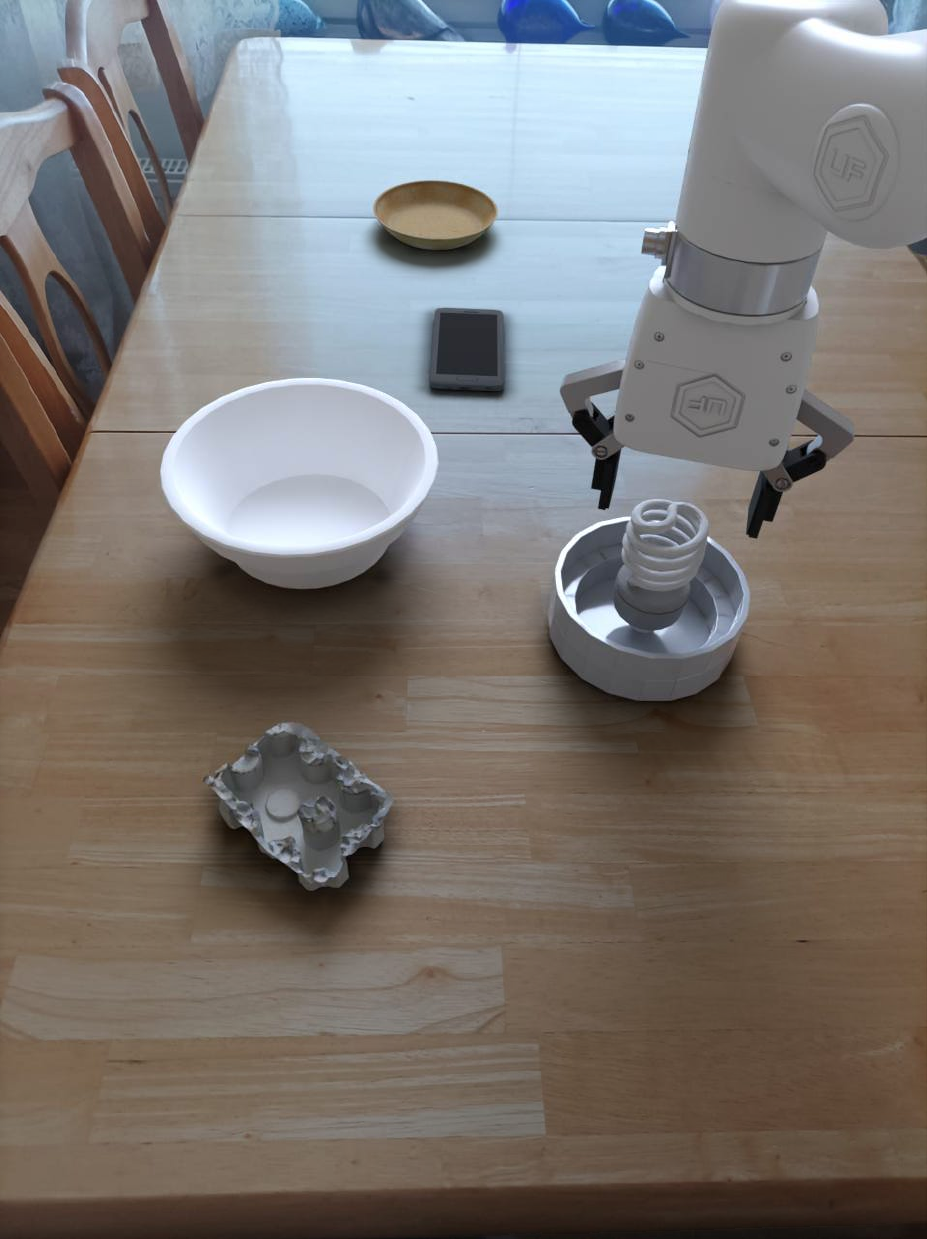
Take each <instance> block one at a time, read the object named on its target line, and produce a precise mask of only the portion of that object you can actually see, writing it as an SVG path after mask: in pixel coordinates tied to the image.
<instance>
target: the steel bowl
mask: <svg viewBox="0 0 927 1239" xmlns="http://www.w3.org/2000/svg"><path fill="white" fill-rule="evenodd" d="M630 519H631V516H621V517H617V518H612V519H608V520H602V521H598V522H596V523H594V524H592V525H590V526H589V527H587V528H585V529H583V530H581V531H579V532H577V533H576V534H575V535H574V536H573V537H572V538H571V539H570V540H569V542H567V543H566V544H565V546H564V547H563V548H562V549H561V550H560V553H559V556H558V558H557V561H556V565H555V567H554V570H553V577H552V583H551V589H550V597H549V604H548V609H547V623H548V624H547V625H548V633H549V638H550V641H551V643H552V644H553V645H554V646H553V647H554V649H555V650H556V651H557V653H558V656H559V658H560V659H561V660H562V661H563V662H564V663H565V664H566V665H567V667H569V668H570V669H571V670H572V671H573V672H574V673H575V674H576V675H577V676H578V677H579V678H581V679H582V680H583V681H585V682H587V683H589V684H591V685H592V686H595V687H596V688H597V689H600V690H601V691H603V692H605V693H608V694H610V695H613V696H618V697H621V698H626V699H629V700H633V701H637V702H638V701H639V702H671V701H675V700H678V699H682V698H685V697H689V696H693V695H696V694H699V693H700V692H701V691H703V690H704V689H706V688H707V687H709V686H710V685H711V684H713V683H714V682H716V681H717V680H719V679H720V677H721V675H722V674H723V673H724V671H725V669H726V668H727V667H728V665H729V663H730V662H731V660H732V658H733V655H734V653H735V650H736V647H737V646H738V642H739V640H740V637H741V635H742V632H743V630H744V627H745V625H746V622H747V620H748V617H749V610H750V603H751V597H752V596H751V592H750V588H749V585H748V582H747V578H746V575H745V572H744V571H743V570H742V568H741V567H740V565H739V564H738V562H736V560H735V559H734V557H733V556H732V554H731V553H730V552H729V551H728V550H727V549H725V548H724V547H722V545H720V544H719V543H718V542H716V541H715V540H714V539H712V538H711V537H710V536H708V537H707V546H706V549H705V554H704V559H703V561H702V563H701V565H700V566H699V569H698V571H697V573H696V575H695V576H694V578H693V579H692V580H691V581H690V592H689V598H688V600H687V603H686V605H685V607H684V609H683V611H682V614H681V616H680V617H679V619H678V620H677V621H676V622H675V623H674V624H673V625H672V626H670V627H667V628H665V629H662V630H655V631H653V632H648V633H642V632H639V631H636V630H635V629H633V628H632V627H631V626H630V625H629V624H628V623H627V622H625V621H624V620H623V619H622V618H621V617H620V616H619V614H618V613H617V611H616V609H615V607H614V590H615V581H616V577H617V575H618V572H619V570H620V568H621V567H622V566H623V565H624V562H623V560H622V555H621V554H622V548H623V537H624V534H625V533H626V526H627V524H628V522H629V520H630ZM646 522H660V521H655V520H652V521H646ZM673 527H675V528H677V529H679V528H678V527H676V526H673ZM679 530H680V531H682V530H681V529H679ZM682 532H684V531H682ZM684 533H685V532H684ZM640 535H648V534H644V533H642V534H640ZM652 535H658V536H662V537H665V538H668V539H670V540H671V541H673V542H675V543H677V544H678V545H681V544H679V543H678V542H677V541H676V540H674V539H672V538H671V537H668V536H666V535H663V534H652ZM636 549H637V548H636ZM637 550H638V549H637ZM638 551H640V550H638ZM640 552H641V551H640ZM641 553H642V554H644V555H648V554H645V553H643V552H641ZM666 559H675V558H666Z"/></svg>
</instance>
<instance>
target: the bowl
mask: <svg viewBox="0 0 927 1239" xmlns="http://www.w3.org/2000/svg"><path fill="white" fill-rule="evenodd" d="M433 437H434V436H433V434H432V433H431V431H430V429H429V427H428V426H427V425H426V424H425V422H424V421H423V420H422V419H421V417H420V416H419V415H418V414H417V413H416V412H414V411H413V410H412V409H411V408H409V407H408V406H407V404H405V403H403V402H402V401H400V400H398V399H396V398H395V397H393V396H391V395H389V394H388V393H385V392H383V391H380V390H378V389H375V388H372V387H369V386H367V385H365V384H360V383H355V382H351V381H345V380H340V379H332V378H322V377H321V378H320V377H307V378H306V377H305V378H301V377H300V378H299V377H298V378H286V379H278V380H272V381H265V382H262V383H258V384H255V385H250V386H247V387H242V388H240V389H238V390H235V391H233V392H230V393H228V394H225V395H223V396H221V397H219V398H217V399H215V400H213V401H212V402H210V403H208V404H206V405H205V406H203V407H201V408H200V409H198V411H196V412H194V414H192V415H191V416H190V417H189V418H188V419H186V420H185V421H184V422H183V424H182V425H181V426H180V427H179V428H178V429H177V430H176V432H174V434H173V435H172V436H171V438H170V440H169V442H168V444H167V446H166V448H165V450H164V451H163V454H162V455H163V456H162V460H161V464H160V469H159V478H160V484H161V485H160V487H161V488H160V489H161V492H162V494H163V496H164V498H165V501H166V502H167V505H168V507H169V509H170V511H171V512H173V513H174V515H175V516H176V517H177V518H178V519H179V521H180V522H181V523H182V524H183V525H184V526H185V527H186V528H187V529H188V530H190V531H191V532H192V533H193V535H194V536H196V537H197V538H198V539H199V540H200V541H201V542H202V543H203V544H204V545H205V546H207V547H208V548H210V549H211V550H213V551H214V552H215V553H217V554H218V555H220V556H221V557H223V558H225V559H227V560H229V561H231V562H234V563H236V565H238V567H239V569H241V570H242V571H244V572H245V573H247V574H248V575H249V576H250V577H253V578H254V579H257V580H259V581H261V582H264V583H265V584H268V585H272V586H276V587H280V588H286V589H295V590H308V589H309V590H310V589H311V590H312V589H321V588H326V587H331V586H336V585H339V584H342V583H344V582H348V581H351V580H352V579H354V578H356V577H358V576H359V575H362V574H363V573H365V572H366V571H368V570H369V569H370V568H371V567H372V566H375V565H376V563H377V562H379V560H380V559H381V558H382V557H383V555H385V553H386V551H387V549H388V547H389V546H390V545H391V544H392V543H394V542H395V541H397V539H399V538H400V537H401V536H402V535H403V533H405V531H406V530H407V529H408V528H409V527H410V525H411V524H412V523H413V521H414V520H415V518H416V517H417V515H418V513H419V512H420V511H421V508H422V507H423V506H424V504H425V503H426V501H427V499H428V498H429V496H430V493H431V491H432V490H433V488H434V486H435V485H436V484H435V483H436V481H437V476H438V470H439V466H440V464H439V462H440V461H439V453H438V452H439V451H438V447H437V444H436V442H435V439H434V438H433Z"/></svg>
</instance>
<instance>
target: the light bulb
mask: <svg viewBox="0 0 927 1239" xmlns="http://www.w3.org/2000/svg"><path fill="white" fill-rule="evenodd" d="M630 517H631V519H630V520H629V522H628V524H627V526H626V533H625V534H624V537H623V548H622V554H621V555H622V560H623V562H624V565H623V566H622V567H621V568H620V570H619V572H618V575H617V577H616V581H615V590H614V607H615V609H616V611H617V613H618V614H619V616H620V617H621V618H622V619H623V620H624V621H625V622H627V623H628V624H629V625H630V626H631V627H632V628H633V629H635V630H636V631H639V632H642V633H648V632H653V631H655V630H662V629H665V628H667V627H670V626H672V625H673V624H674V623H675V622H676V621H677V620H678V619H679V617H680V616H681V614H682V611H683V609H684V607H685V605H686V603H687V600H688V598H689V592H690V581H691V580H692V579H693V578H694V576H695V575H696V573H697V571H698V569H699V566H700V565H701V563H702V561H703V559H704V554H705V549H706V546H707V537H709V534H710V530H711V528H710V522H709V520H708V518H707V516H706V515H705V514H704V512H703V511H701V509H699V508H698V507H697V506H695V505H693V504H692V503H688V502H687V501H686V502H685V501H673V500H670V499H663V498H652V499H651V498H650V499H646V500H644V501H642V502H640V503H639V504H637V505H635V507H634V508H633V509H632V511H631V514H630ZM652 520H655V521H660V522H646V521H652ZM673 526H676V527H678V528H679V529H681V530H682V531H684V532H685V533H684V532H682V531H680V530H679V529H677V528H675V527H673ZM642 533H644V534H648V535H640V534H642ZM652 534H663V535H666V536H668V537H671V538H672V539H674V540H676V541H677V542H678V543H679V544H681V545H678V544H677V543H675V542H673V541H671V540H670V539H668V538H665V537H662V536H658V535H652ZM636 548H637V549H638V550H640V551H641V552H643V553H645V554H648V555H644V554H642V553H641V552H640V551H638V550H637V549H636ZM666 558H675V559H666Z"/></svg>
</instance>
